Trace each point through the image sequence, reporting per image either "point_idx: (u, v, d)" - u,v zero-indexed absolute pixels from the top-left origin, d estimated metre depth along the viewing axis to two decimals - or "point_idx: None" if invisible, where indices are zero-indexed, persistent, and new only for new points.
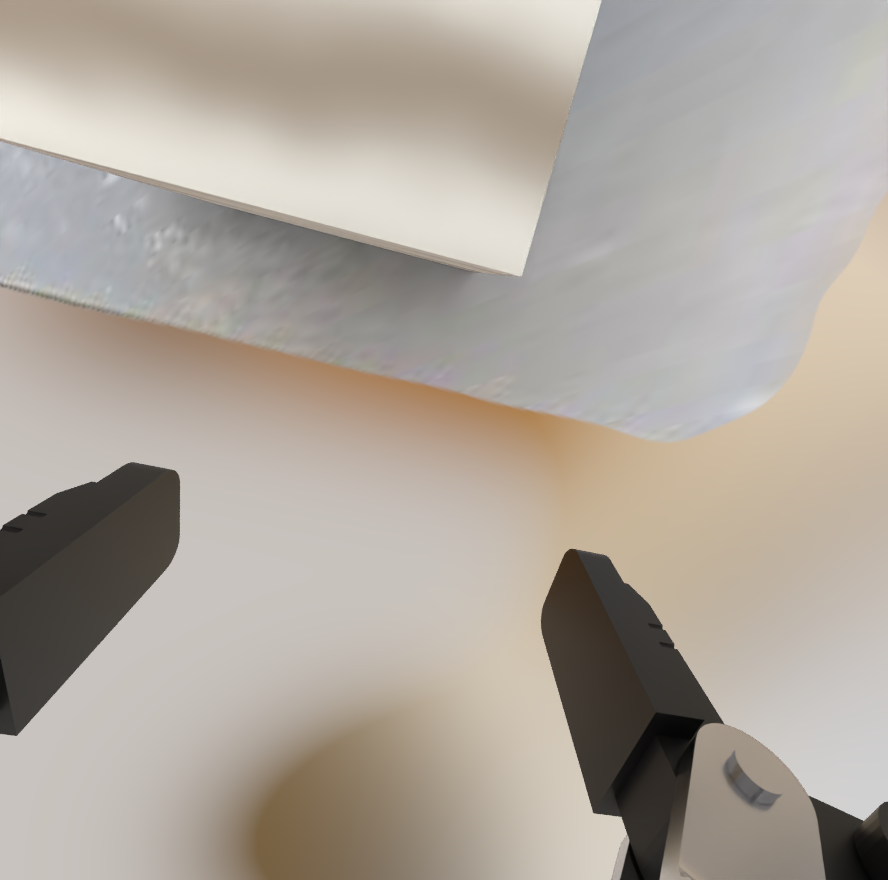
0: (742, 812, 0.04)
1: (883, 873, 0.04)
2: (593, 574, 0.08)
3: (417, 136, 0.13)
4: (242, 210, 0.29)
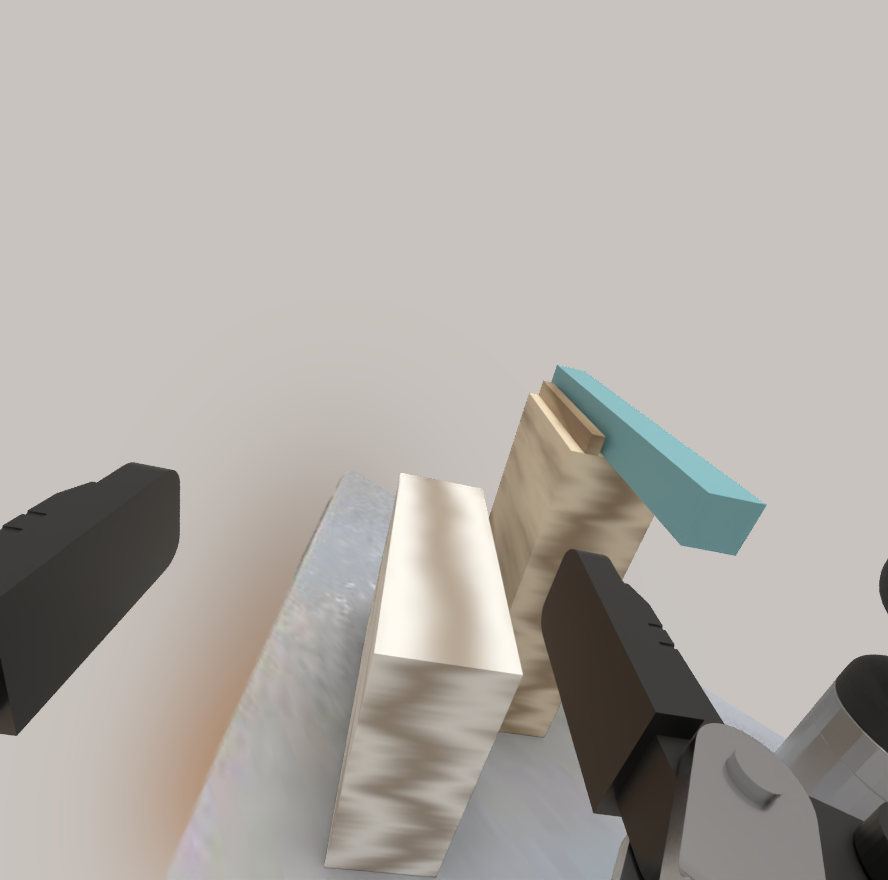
0: (742, 812, 0.04)
1: (883, 873, 0.04)
2: (593, 574, 0.08)
3: (432, 600, 0.26)
4: (366, 635, 0.44)
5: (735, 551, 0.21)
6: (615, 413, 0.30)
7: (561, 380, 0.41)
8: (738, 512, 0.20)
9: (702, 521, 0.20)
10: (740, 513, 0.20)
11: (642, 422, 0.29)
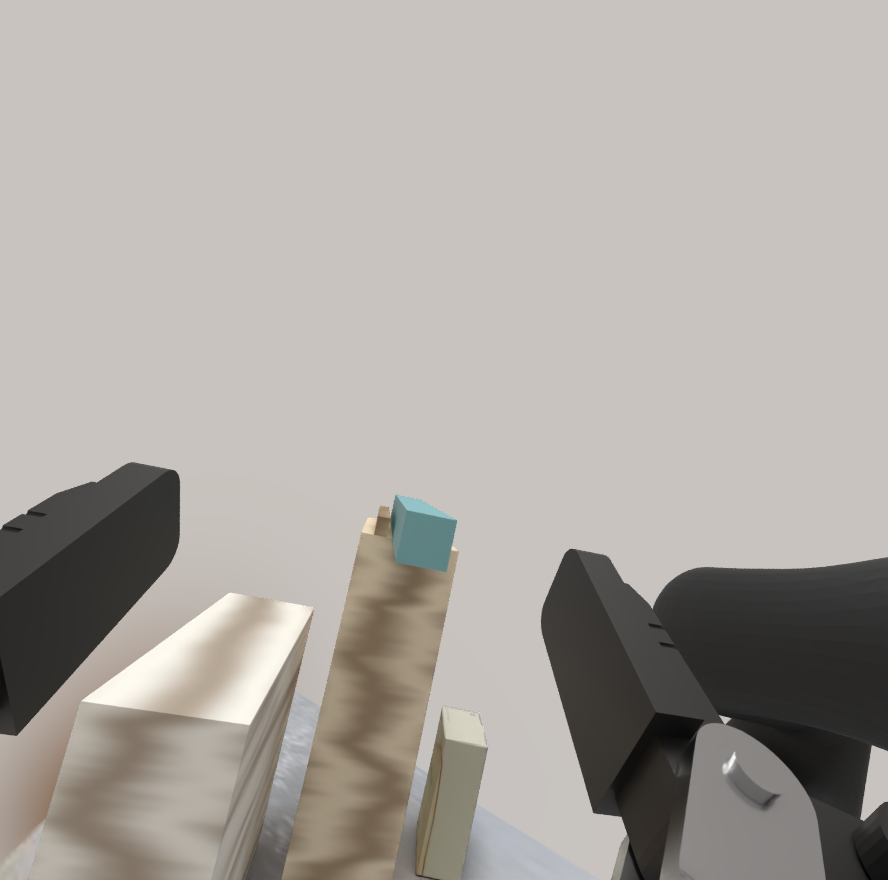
0: (742, 812, 0.04)
1: (883, 873, 0.04)
2: (593, 574, 0.08)
3: (188, 671, 0.25)
4: None
5: (446, 568, 0.25)
6: None
7: (394, 503, 0.47)
8: (436, 528, 0.25)
9: (408, 537, 0.24)
10: (437, 528, 0.25)
11: (421, 505, 0.35)
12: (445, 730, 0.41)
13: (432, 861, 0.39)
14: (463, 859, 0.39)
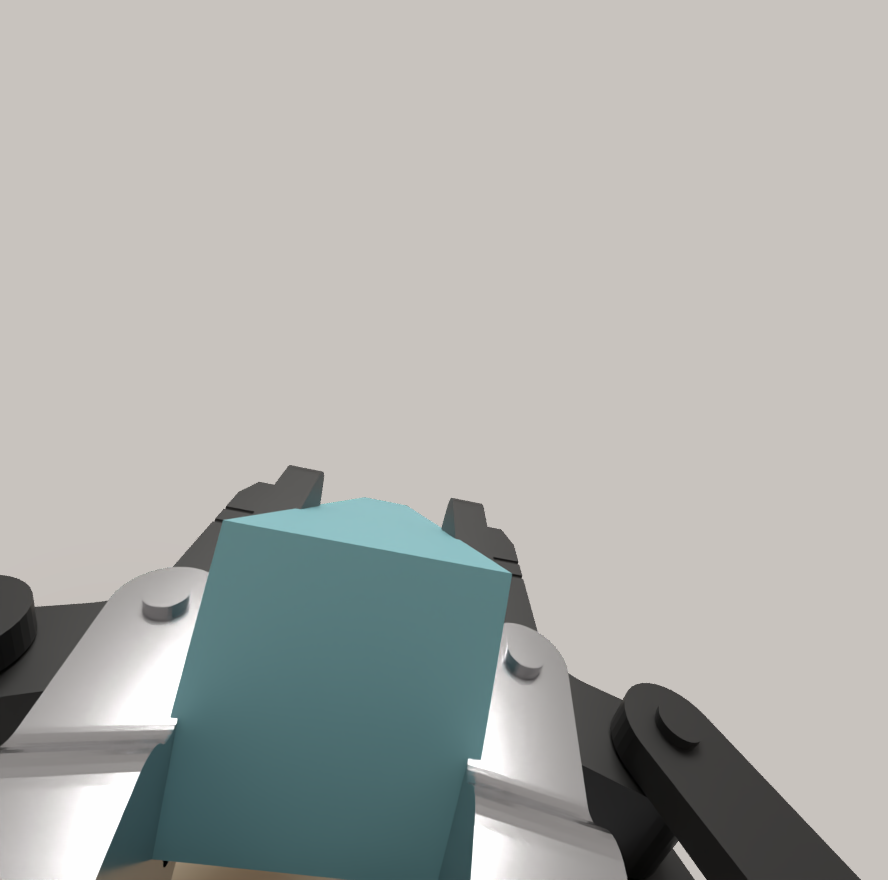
0: (496, 680, 0.05)
1: (632, 760, 0.05)
2: (459, 516, 0.09)
3: None
4: None
5: None
6: (345, 501, 0.15)
7: None
8: (394, 620, 0.04)
9: (227, 683, 0.04)
10: (404, 625, 0.04)
11: (390, 511, 0.14)
12: None
13: None
14: None
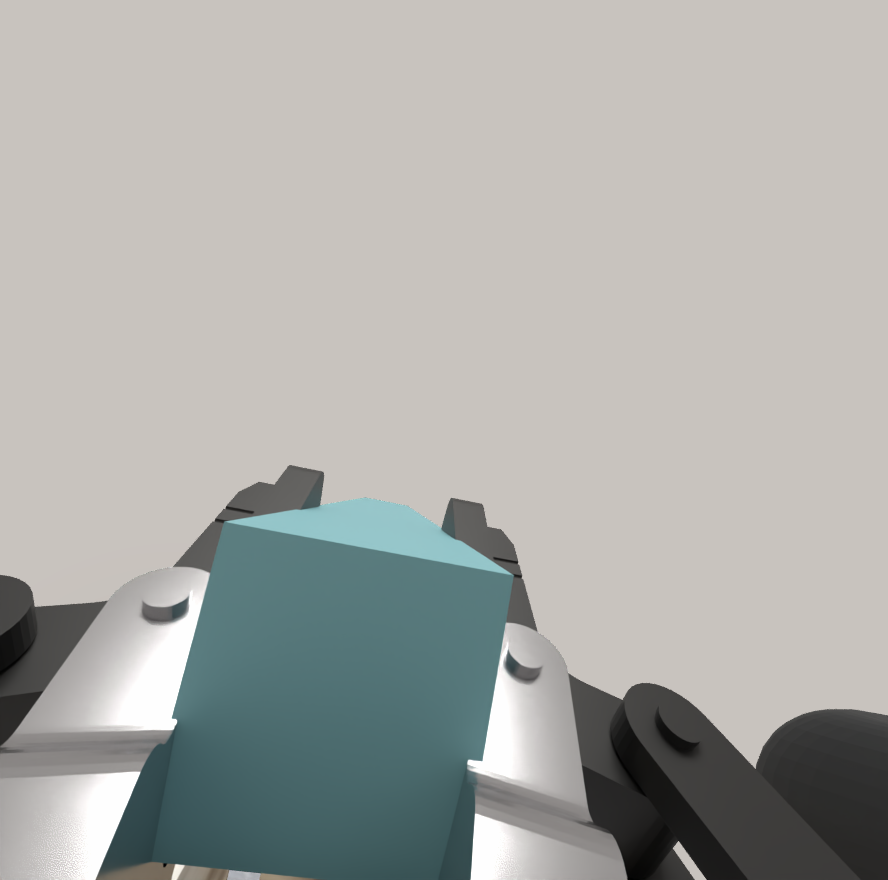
0: (496, 680, 0.05)
1: (632, 760, 0.05)
2: (460, 516, 0.09)
3: None
4: None
5: None
6: (345, 502, 0.15)
7: None
8: (396, 622, 0.04)
9: (228, 685, 0.04)
10: (407, 627, 0.04)
11: (390, 511, 0.14)
12: None
13: None
14: None
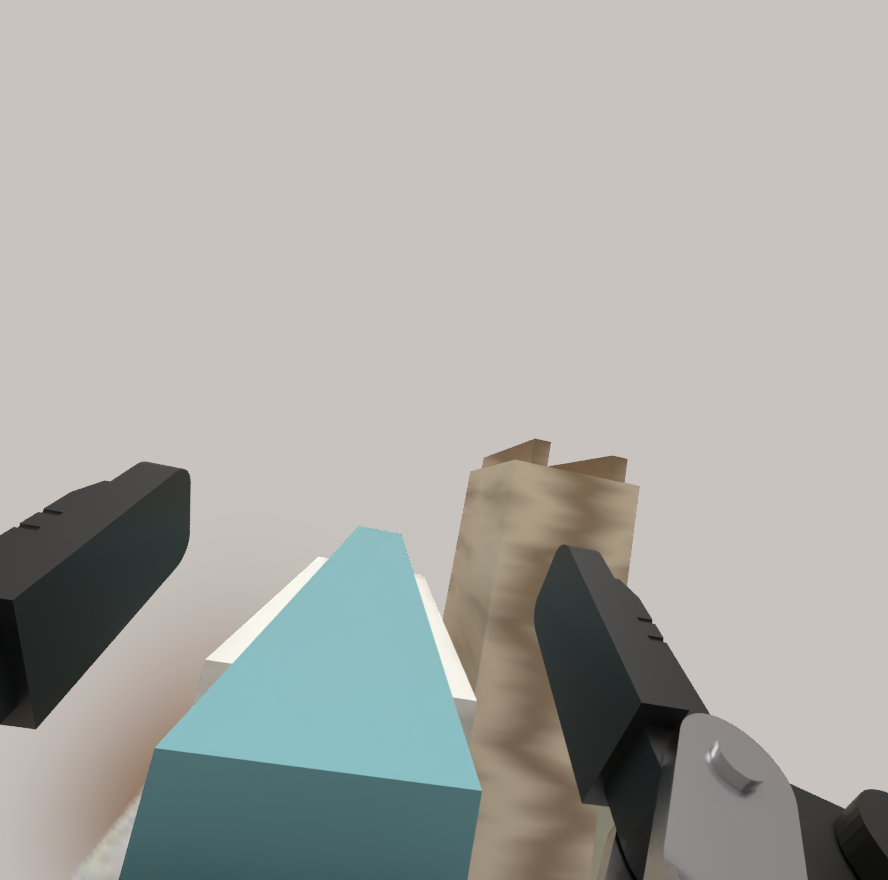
0: (723, 798, 0.04)
1: (863, 861, 0.04)
2: (584, 569, 0.08)
3: None
4: None
5: None
6: (332, 559, 0.15)
7: None
8: (348, 856, 0.04)
9: None
10: (361, 861, 0.04)
11: (377, 571, 0.14)
12: None
13: None
14: None
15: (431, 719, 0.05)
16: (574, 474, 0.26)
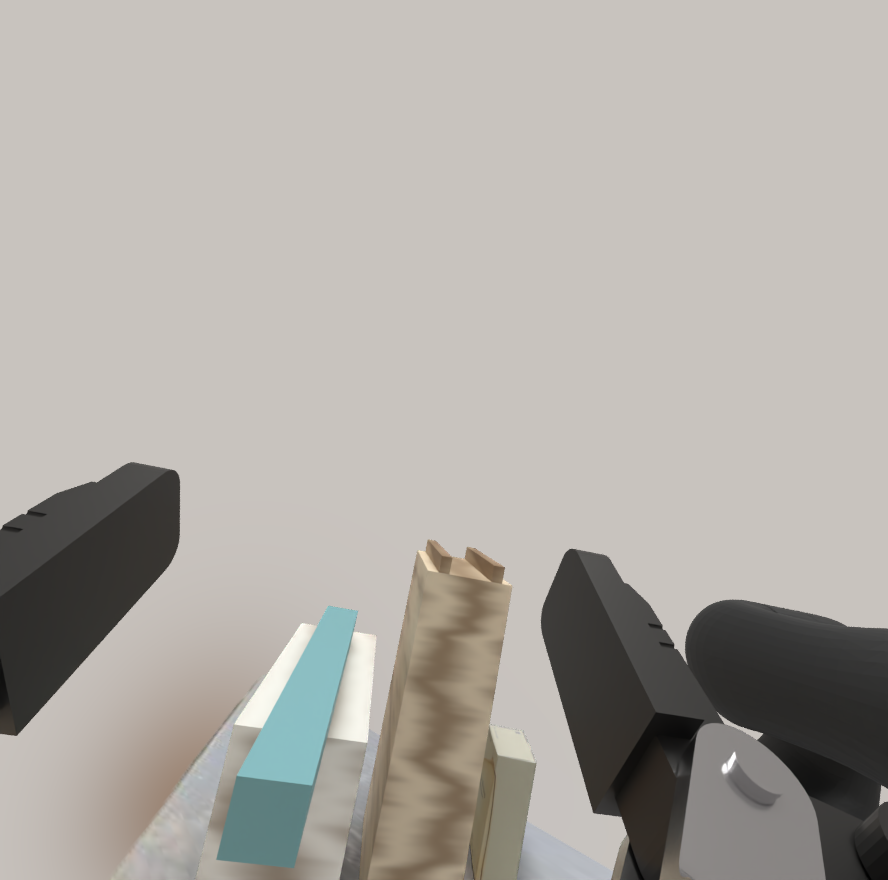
0: (742, 812, 0.04)
1: (883, 873, 0.04)
2: (593, 574, 0.08)
3: None
4: None
5: (295, 860, 0.17)
6: (298, 665, 0.28)
7: None
8: (279, 800, 0.17)
9: (237, 818, 0.17)
10: (282, 801, 0.17)
11: (320, 674, 0.27)
12: (495, 747, 0.45)
13: (489, 869, 0.43)
14: (517, 867, 0.43)
15: (308, 765, 0.18)
16: (468, 579, 0.39)
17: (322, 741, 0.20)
